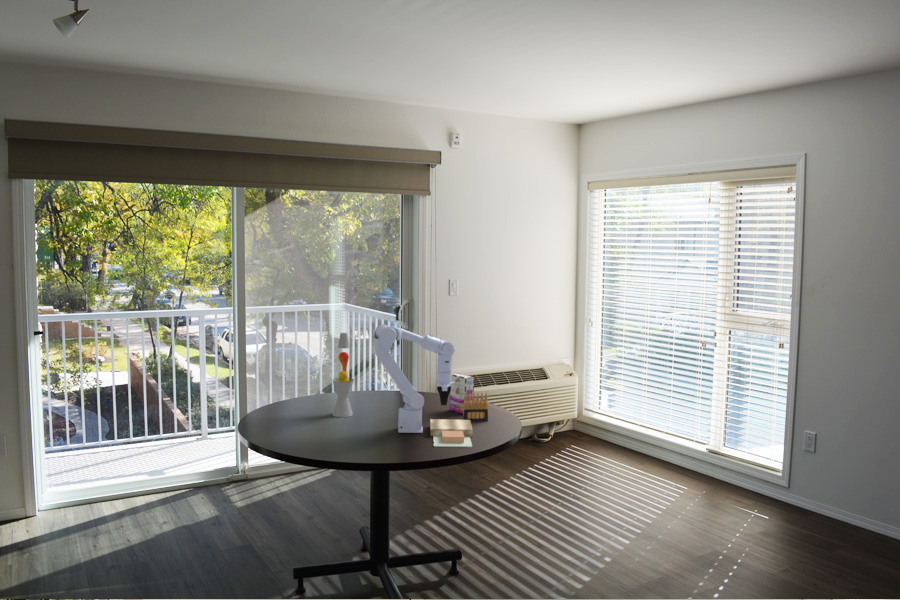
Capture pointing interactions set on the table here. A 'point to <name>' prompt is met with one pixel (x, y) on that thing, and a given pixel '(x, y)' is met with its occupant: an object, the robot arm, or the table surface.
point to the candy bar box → (460, 391)
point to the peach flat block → (452, 437)
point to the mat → (438, 443)
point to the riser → (450, 426)
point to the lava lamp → (343, 382)
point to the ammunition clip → (473, 412)
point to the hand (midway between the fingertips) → (443, 404)
